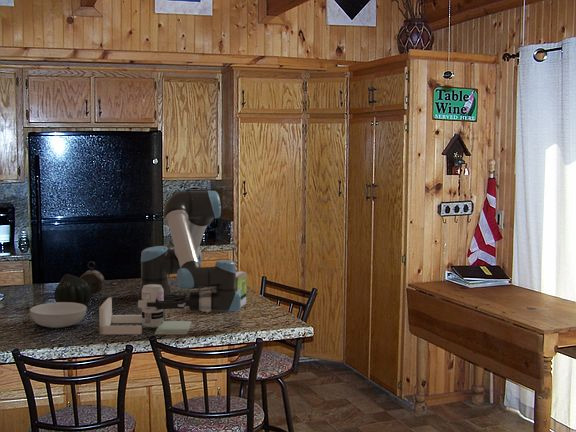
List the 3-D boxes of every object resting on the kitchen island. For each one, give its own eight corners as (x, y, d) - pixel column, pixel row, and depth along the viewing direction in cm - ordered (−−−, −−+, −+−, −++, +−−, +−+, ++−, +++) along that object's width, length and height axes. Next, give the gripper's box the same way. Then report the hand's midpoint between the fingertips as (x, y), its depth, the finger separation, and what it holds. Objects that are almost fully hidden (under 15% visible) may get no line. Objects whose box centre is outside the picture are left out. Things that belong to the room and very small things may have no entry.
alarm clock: (105, 295, 327) (104, 260, 325) (101, 298, 322) (100, 262, 320) (82, 294, 328) (81, 260, 326) (77, 297, 323) (77, 262, 321)
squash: (100, 295, 303) (86, 266, 308) (69, 302, 292) (55, 272, 297) (88, 312, 311) (74, 284, 316) (57, 319, 300) (43, 290, 305)
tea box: (237, 311, 300) (237, 277, 298) (215, 310, 302) (215, 275, 300) (246, 303, 314) (247, 270, 313) (225, 302, 316) (225, 269, 315)
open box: (147, 322, 280) (147, 297, 279) (141, 334, 262) (141, 307, 261) (108, 322, 279) (108, 297, 278) (99, 334, 262) (99, 307, 261)
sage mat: (154, 334, 262) (154, 333, 262) (160, 322, 280) (160, 321, 280) (187, 334, 263) (187, 333, 263) (191, 322, 281) (191, 321, 281)
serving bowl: (55, 335, 260) (55, 317, 259) (18, 327, 271) (18, 309, 270) (98, 323, 277) (98, 306, 277) (62, 316, 288) (61, 299, 288)
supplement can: (143, 322, 274) (142, 283, 272) (164, 321, 275) (164, 283, 273) (140, 327, 266) (140, 288, 264) (162, 327, 267) (162, 288, 265)
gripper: (198, 317, 260) (135, 317, 259) (202, 304, 281) (144, 304, 280) (198, 297, 259) (135, 297, 258) (202, 286, 280) (144, 286, 279)
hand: (140, 301), depth 269 cm, fingers closed on supplement can, 8 cm apart
